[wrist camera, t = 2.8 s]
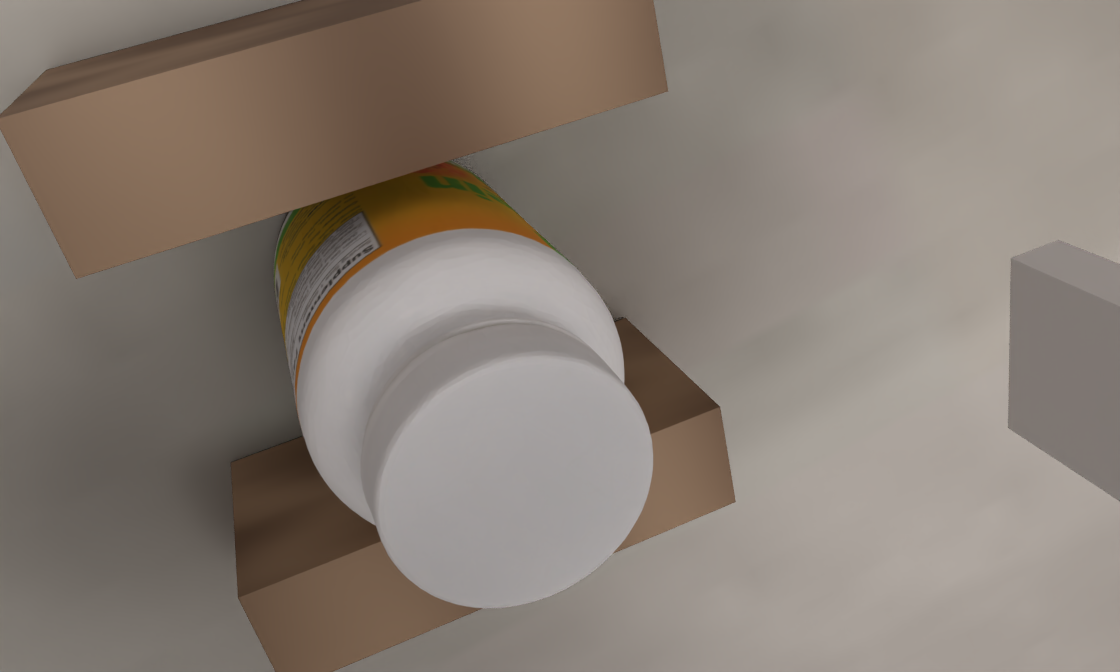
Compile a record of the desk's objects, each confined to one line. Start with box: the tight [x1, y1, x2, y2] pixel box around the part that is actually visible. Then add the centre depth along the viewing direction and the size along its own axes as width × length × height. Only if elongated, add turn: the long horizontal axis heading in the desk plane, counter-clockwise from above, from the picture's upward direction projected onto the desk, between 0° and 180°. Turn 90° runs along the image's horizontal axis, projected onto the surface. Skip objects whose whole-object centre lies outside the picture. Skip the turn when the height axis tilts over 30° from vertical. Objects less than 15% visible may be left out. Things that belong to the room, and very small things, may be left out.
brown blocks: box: [0, 0, 736, 672], centre depth 19 cm, size 10×12×5 cm
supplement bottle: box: [274, 160, 653, 608], centre depth 17 cm, size 5×5×10 cm
